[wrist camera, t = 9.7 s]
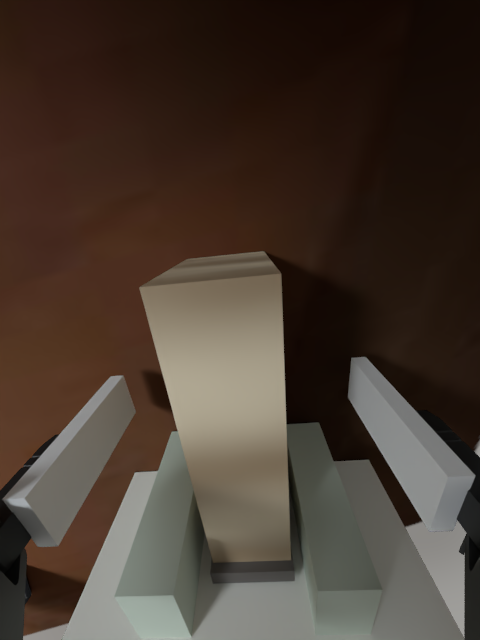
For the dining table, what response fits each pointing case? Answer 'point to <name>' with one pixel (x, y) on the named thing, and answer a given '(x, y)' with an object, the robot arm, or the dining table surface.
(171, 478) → the base plate with tabs
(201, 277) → the rail
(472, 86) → the dining table surface
